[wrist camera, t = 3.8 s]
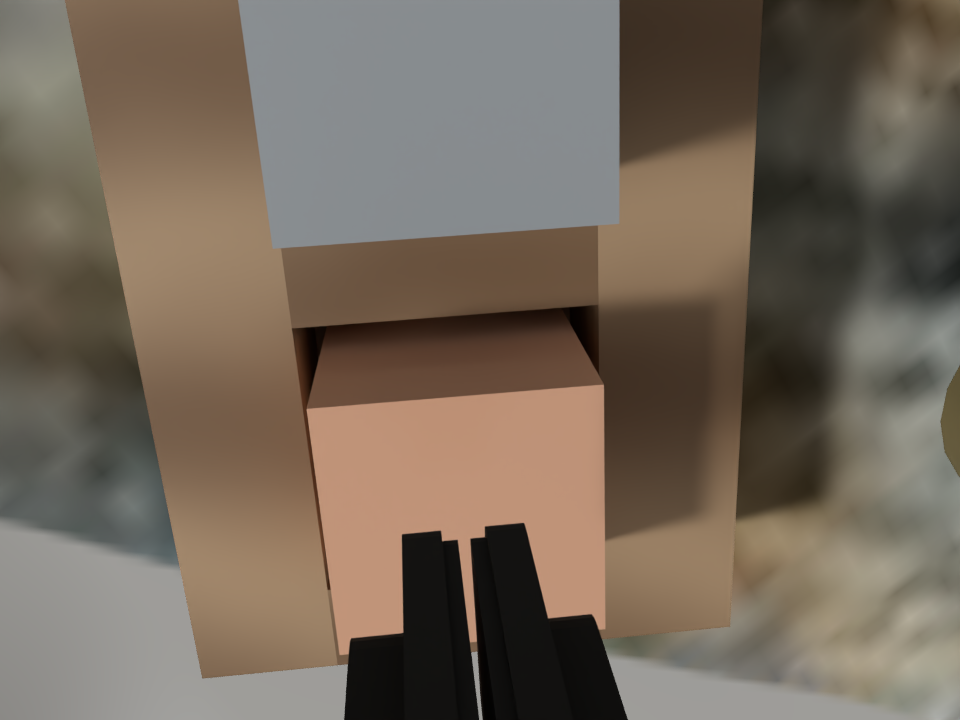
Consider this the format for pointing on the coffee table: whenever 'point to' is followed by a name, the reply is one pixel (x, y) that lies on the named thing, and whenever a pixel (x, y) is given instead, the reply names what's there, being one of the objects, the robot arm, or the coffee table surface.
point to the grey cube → (433, 116)
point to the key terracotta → (457, 455)
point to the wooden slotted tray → (423, 314)
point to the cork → (952, 422)
